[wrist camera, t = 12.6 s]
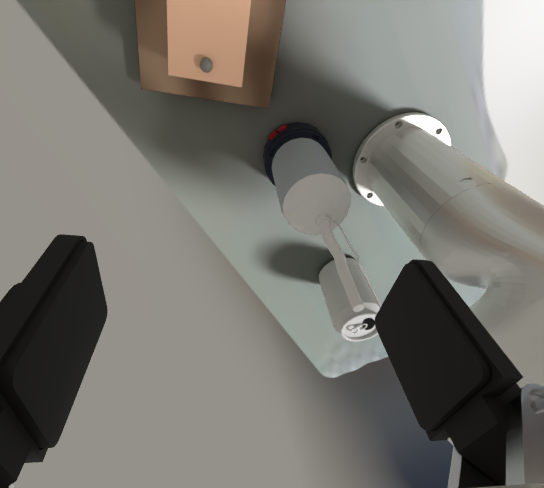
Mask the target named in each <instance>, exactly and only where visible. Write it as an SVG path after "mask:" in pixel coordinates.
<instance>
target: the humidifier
mask: <svg viewBox="0 0 544 488" xmlns="http://www.w3.org/2000/svg"><path fill="white" fill-rule="evenodd" d="M268 138H269V139H268V141H267V143H266V145H265V148H264V155H263V158H264V164H265V169H266V173H267V175H268V177H269V179H270V180H271V182H272V184H273V185H275V186H276V190H277V194H278V198H279V202H280V206H281V210H282V213H283V215H284V217H285V219H286V221H287V222H288V224H289V225H290V226H292V227H293V228H294V229H295V230H297V231H299V232H302V233H304V234H309V235H318V234H322V237H323V240H324V242H325V244H326V246H327V248H328V249H329V251H330V253H331V254H332V256H333V258H334V260H335V264H336V268H337V272H338V274H339V277H340V279H341V282H342V284H343V286H344V289H345V291H346V294H347V296H348V299H349V301H350V304H351V306H352V308H353V311H354V312H360V311H362V310H363V309H364V305H363V303H362V300H361V298H360V296H359V293H358V291H357V288H356V286H355V283H354V281H353V278H352V276H351V274H350V271H349V268H348V265H347V261H346V257H345V254H344V253H343V251H342V249H341V248H340V246H339V245H338V243H337V241H336V239H335V237H334V235H333V232H332V230H333V229H334V228H336V227H337V226H339V227H340V229H341V231H342V233H343V234H344V236H345V238H346V241H347V242H348V244H349V246H350V248H351V249H352V250H353V252H354V253H355V255H356V256H357V265H358V268H359V270H360V272H361V273H362V275H363V276H364V278H365V280H366V282H367V284H368V286H369V288H370V290H371V292H372V294H373V296H374V298H375V300H376V302H377V304H378V306H379V308H381V307H380V305H379V303H378V301H377V299H376V297H375V295H374V293H373V291H372V289H371V287H370V285H369V283H368V281H367V279H366V277H365V275H364V274H363V272H362V271H361V269H360V267H359V259H358V255H357V254H356V252H355V251H354V249H353V248H352V247H351V245H350V243H349V241H348V239H347V237H346V235H345V233H344V232H343V230H342V228H341V226H340V224H341V223H342V221H343V220H344V219H345V217H346V216H347V213H348V210H349V208H350V198H351V194H350V192H349V189H348V187H347V184H346V182H345V180H344V178H343V177H342V175H341V174H340V172H339V171H338V169H337V168H336V166H335V165H334V163H333V161H332V154H331V150H330V148H329V145H328V142H327V141H326V139H325V138H324V136H323V135H322V134H321V133H320V132H319V131H318V130H317V128H315V127H313V126H311V125H309V124H306V123H299V122H296V123H291V124H284V125H282V126H280V127H279V128H277V130H274V131H273V132H272V133H271V135H270V136H269V137H268Z"/></svg>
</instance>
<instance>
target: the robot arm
mask: <svg viewBox="0 0 544 488" xmlns="http://www.w3.org/2000/svg"><path fill="white" fill-rule="evenodd" d="M396 122H397V123H396ZM353 180H354V184H355V186H356V188H357V190H358V191H359V193H360V194H361V195H362V196H363V197H364V198H365V199H366V200H367V201H369V202H371V203H372V204H375V205H378V206H385V207H386V208H387V210H388V211H389V212H390V214H391V215H392V216H393V218H394V219H395V220H396V222H397V223H398V224H399V226H400V227H401V228H402V229H403V231H404V232H405V233H406V235H407V236H408V237H409V239H410V240H411V241H412V243H413V244H414V245H415V247H416V248H417V249H418V250H419V252H420V253H421V254H422V256H423V257H424V258H425V259H426V260H412V261H410V262H409V263H408V264H406V265H405V266H404V267H403V269H402V271H401V273H400V274H399V276H398V278H397V280H396V281H395V283H394V285H393V287H392V288H391V290H390V292H389V294H388V295H387V297H386V299H385V301H384V302H383V304H382V306H381V308H380V309H379V311H378V313H377V315H376V317H375V327H376V329H377V332H378V334H379V336H380V338H381V341H382V343H383V345H384V347H385V349H386V352H387V354H388V356H389V358H390V361H391V363H392V365H393V367H394V369H395V372H396V374H397V376H398V378H399V381H400V383H401V385H402V387H403V390H404V392H405V394H406V396H407V399H408V401H409V403H410V405H411V407H412V410H413V412H414V414H415V416H416V419H417V421H418V423H419V425H420V426H421V427H422V428H423V429H424V430H425V431H426V433H427V435H428V437H429V439H430V441H437V440H448V441H449V442H450V443H451V444H452V445H453V446H454V447H453V455H452V462H451V469H450V476H449V483H448V488H544V205H542V204H540V203H538V202H537V201H535V200H533V199H532V198H530V197H529V196H527V195H526V194H524V193H523V192H521V191H519V190H518V189H516V188H515V187H513V186H511V185H509V184H508V183H506V182H505V181H503V180H502V179H500V178H499V177H497V176H496V175H494V174H493V173H491V172H490V171H488V170H486V169H485V168H483V167H482V166H480V165H479V164H477V163H476V162H474V161H473V160H471V159H470V158H468V157H466V156H465V155H463V154H462V153H460V152H459V151H457V150H456V149H454V148H453V147H451V141H450V136H449V133H448V131H447V129H446V127H445V126H444V125H443V124H442V123H441V122H440V121H439V120H437V119H435V118H434V117H432V116H430V115H427V114H424V113H418V112H412V113H404V114H400V115H396V116H394V117H392V118H390V119H387V120H386V121H384V122H383V123H381V124H380V125H378V126H377V127H376V128H375V129H374V130H373V131H371V132H370V133H369V135H368V136H367V137H366V138H365V139H364V141H363V142H362V144H361V146H360V147H359V149H358V151H357V154H356V156H355V159H354V163H353ZM447 279H448V280H450V281H452V282H455V283H458V284H461V285H465V286H470V287H475V288H482V289H487V290H486V292H485V293H484V295H483V296H482V297H481V298H480V299H479V300H477V301H476V302H475V303H474V304H473V305H472V306H471V307H470V308H469V307H468V306H467V304H466V303H465V302H464V301H463V299H462V298H461V297H460V295H459V294H458V293H457V292H456V290H455V289H454V288H453V287H452V285H451V284H450V283H449V281H448V280H447ZM106 318H107V305H106V300H105V295H104V291H103V286H102V282H101V277H100V272H99V267H98V263H97V258H96V254H95V249H94V245H93V243H92V242H87V240H86V238H85V237H83V236H75V235H57V236H56V237H55V238H54V240H53V241H52V243H51V244H50V245H49V247H48V248H47V249H46V250H45V252H44V253H43V255H42V256H41V257H40V259H39V260H38V261H37V263H36V264H35V265H34V267H33V268H32V269H31V271H30V272H29V273H28V275H27V276H26V278H25V279H24V280H23V281H22V283H18V284H16V285H14V286H13V287H12V288H11V289H10V290H9V291H8V293H7V294H6V295H5V296H4V298H3V299H2V300H1V302H0V488H15V487H14V484H13V483H14V482H15V481H16V480H17V478H18V476H19V474H20V471H21V469H22V467H23V465H24V463H30V462H43V459H44V457H45V454H46V452H47V449H48V448H52V447H54V446H55V445H56V444H57V442H58V441H59V438H60V436H61V433H62V431H63V428H64V425H65V423H66V421H67V418H68V415H69V413H70V411H71V408H72V405H73V403H74V400H75V397H76V395H77V392H78V390H79V388H80V385H81V382H82V380H83V377H84V374H85V372H86V370H87V367H88V365H89V362H90V360H91V357H92V354H93V352H94V349H95V347H96V344H97V342H98V339H99V337H100V334H101V331H102V329H103V326H104V324H105V321H106Z"/></svg>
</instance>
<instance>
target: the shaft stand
mask: <svg viewBox="0 0 544 488" xmlns="http://www.w3.org/2000/svg"><path fill="white" fill-rule="evenodd" d="M285 3H286V0H251V7H250V16H249V25H248V35H247V44H246V53H245V63H244V72H243V82H242V87H236V86H230V85H224V84H218V83H213V82H207V81H201V80H195V79H189V78H183V77H177V76H171V75H168V34H167V0H135V12H136V26H137V39H138V53H139V67H140V80H141V89H146V90H152V91H159V92H165V93H172V94H178V95H184V96H191V97H197V98H204V99H210V100H217V101H223V102H229V103H236V104H242V105H249V106H255V107H261V108H268V109H269V105H270V99H271V92H272V86H273V80H274V73H275V67H276V61H277V54H278V48H279V42H280V35H281V29H282V22H283V16H284V10H285Z"/></svg>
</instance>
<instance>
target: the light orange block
mask: <svg viewBox="0 0 544 488" xmlns="http://www.w3.org/2000/svg"><path fill="white" fill-rule="evenodd" d="M250 7H251V0H167V34H168V75H171V76H177V77H183V78H189V79H195V80H201V81H207V82H213V83H218V84H224V85H230V86H236V87H242V82H243V72H244V63H245V53H246V44H247V35H248V25H249V16H250Z"/></svg>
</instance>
